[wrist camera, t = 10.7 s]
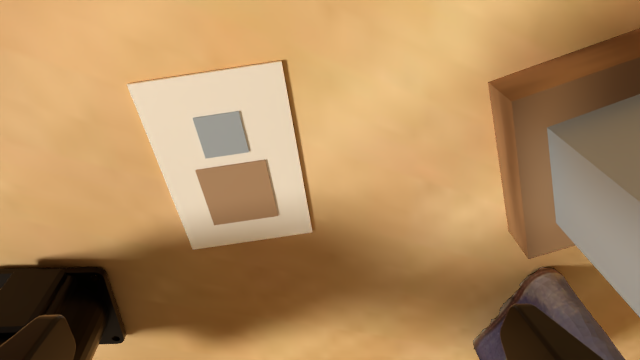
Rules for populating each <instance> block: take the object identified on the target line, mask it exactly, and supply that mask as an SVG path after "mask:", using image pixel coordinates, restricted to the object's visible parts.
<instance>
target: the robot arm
mask: <svg viewBox="0 0 640 360" xmlns="http://www.w3.org/2000/svg"><path fill="white" fill-rule="evenodd" d="M95 275H96V276H95ZM125 336H126V332H125V329H124V326H123V323H122V320H121V316H120V313H119V310H118V307H117V304H116V301H115V298H114V295H113V292H112V288H111V285H110V282H109V279H108V276H107V273H106V271H105V270H103V269H101V268H98V267H81V268H18V269H0V360H92V358H93V356H94V354H95V351H96V349H97V347H98V344H118V343H122V342H123V341H124V339H125ZM500 338H501V342H502V345H503V349H504V352H505V355H506V359H507V360H604V359H603V358H601V357H600V356H599V355H598V354H596V353H595V352H594V351H592V350H591V349H590V348H589V347H587V346H586V345H585V344H584V343H582V342H581V341H580V340H578V339H577V338H576V337H575V336H573V335H572V334H571V333H569V332H568V331H567V330H566V329H564V328H563V327H562V326H560V325H559V324H558V323H557V322H555V321H554V320H553V319H551V318H550V317H549V316H548V315H546V314H545V313H544V312H542V311H541V310H540V309H539V308H537V307H536V306H534V305H532V304H513V305H512V306H510V308H509V310H508V312H507V315H506V317H505V319H504V321H503V324H502V326H501V329H500Z"/></svg>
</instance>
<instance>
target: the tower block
mask: <svg viewBox="0 0 640 360" xmlns="http://www.w3.org/2000/svg"><path fill="white" fill-rule="evenodd" d="M547 133H548V144H549V154H550V164H551V175H552V185H553V195H554V206H555V216H556V223H557V225H558V226H559V227H560V228H561V229H562V230H563V231H564V232H565V234H566V235H567V236H568V237H569V238H570V239H571V240H572V242H573V243H574V244H575V245H576V246H577V247H578V248H579V249H580V251H581V252H582V253H583V254H584V255H585V256H586V257H587V258H588V260H589V261H590V262H591V263H592V264H593V265H594V266H595V267H596V269H597V270H598V271H599V272H600V273H601V274H602V275H603V277H604V278H605V279H606V280H607V281H608V282H609V283H610V284H611V286H612V287H613V288H614V289H615V290H616V291H617V292H618V293H619V295H620V296H621V297H622V298H623V299H624V300H625V301H626V303H627V304H628V305H629V306H630V307H631V308H632V309H633V310H634V312H635V313H636V314H637V315H638V316H639V317H640V94H639V95H636V96H633V97H630V98H627V99H625V100H622V101H619V102H616V103H614V104H611V105H608V106H605V107H602V108H600V109H597V110H594V111H591V112H589V113H586V114H583V115H580V116H577V117H575V118H572V119H569V120H566V121H564V122H561V123H558V124H555V125H552V126H550V127H547Z"/></svg>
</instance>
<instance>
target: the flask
mask: <svg viewBox="0 0 640 360" xmlns="http://www.w3.org/2000/svg"><path fill="white" fill-rule="evenodd" d="M520 286H521V289H520V288H519V290H517V292H516V293H515V294H514V295H512V297H511V298H509V299H508V300H507V302H505V303H503V306H502V307H501V308H500V310H499V311H500V312H499V316H498V317H497V318H496V319H491V323H490V325H489V327H488V328H486V329H484V330H483V331H482V333H481V334H480V335H479V336H478V337H477V338H476V339H474V340H473V345H474V349H475V350H476V353H477V355H478V357H479V359H480V360H507V359H506V355H505V352H504V349H503V345H502V342H501V338H500V329H501V326H502V324H503V321H504V319H505V317H506V315H507V312H508V310H509V308H510V306H512V305H513V304H532V305H534V306H536V307H537V308H539V309H540V310H541V311H542V312H544V313H545V314H546V315H548V316H549V317H550V318H551V319H553V320H554V321H555V322H557V323H558V324H559V325H560V326H562V327H563V328H564V329H566V330H567V331H568V332H569V333H571V334H572V335H573V336H575V337H576V338H577V339H578V340H580V341H581V342H582V343H584V344H585V345H586V346H587V347H589V348H590V349H591V350H592V351H594V352H595V353H596V354H598V355H599V356H600V357H601V358H603V359H604V360H625V359H624V358H623V356H622V355H621V353H620V352H619V351H618V349H617V348H616V347H615V345H614V344H613V342H612V341H611V340H610V338H609V337H608V335H607V334H606V333H605V332H604V330H603V329H602V327H601V326H600V325H599V324H598V323H597V322H596V321H595V319H594V318H593V317H592V315H591V314H590V312H589V311H588V310H587V309H586V307H585V306H584V305H583V303H582V302H581V301H580V299H579V298H578V297H577V295H576V294H575V293H574V291H573V290H572V289H571V287H570V286H569V284H568V283H567V281H566V280H565V278H564V276H563V275H562V274H560V273H559V272H557V271H556V270H555V269H554V268H550V269H549V268H544V267H541V268H539V269H538V271H537V272H535V273H533V274H532V275H529V276H528V277H527V278H526V279H524V281H522V282H521V283H520Z"/></svg>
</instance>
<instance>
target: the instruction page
mask: <svg viewBox="0 0 640 360" xmlns="http://www.w3.org/2000/svg"><path fill="white" fill-rule="evenodd" d="M127 86H128V89H129V91H130V94H131V96H132V99H133V101H134V104H135V106H136V109H137V111H138V114H139V116H140V119H141V121H142V124H143V126H144V129H145V131H146V134H147V136H148V139H149V141H150V144H151V146H152V149H153V151H154V154H155V156H156V159H157V161H158V164H159V166H160V169H161V171H162V174H163V176H164V179H165V181H166V184H167V186H168V189H169V191H170V194H171V196H172V199H173V201H174V204H175V206H176V209H177V211H178V214H179V216H180V219H181V221H182V224H183V226H184V229H185V231H186V234H187V236H188V239H189V241H190V244H191V246H192V249H193V250H195V249H202V248H209V247H216V246H222V245H229V244H236V243H243V242H250V241H257V240H264V239H271V238H277V237H284V236H291V235H298V234H305V233H312V226H311V221H310V215H309V210H308V204H307V199H306V193H305V188H304V182H303V177H302V171H301V166H300V160H299V155H298V149H297V143H296V138H295V132H294V127H293V121H292V116H291V110H290V105H289V99H288V94H287V88H286V83H285V77H284V72H283V66H282V60H281V61H275V62H268V63H261V64H255V65H248V66H241V67H235V68H228V69H221V70H215V71H208V72H201V73H195V74H188V75H181V76H175V77H168V78H162V79H155V80H148V81H142V82H135V83H128V84H127Z"/></svg>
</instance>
